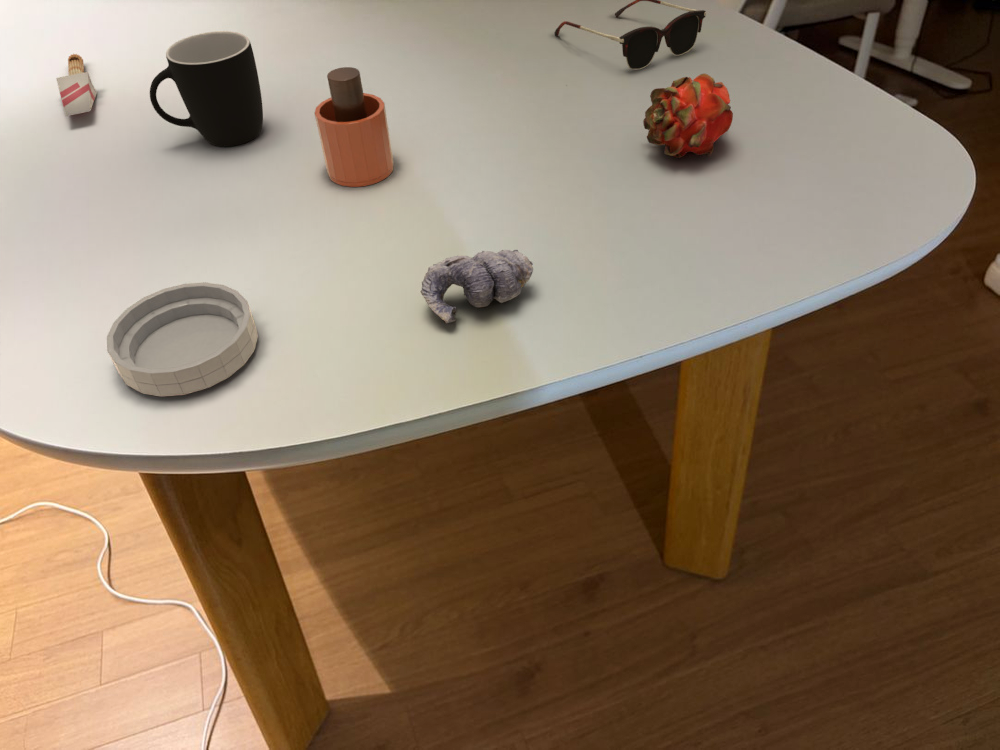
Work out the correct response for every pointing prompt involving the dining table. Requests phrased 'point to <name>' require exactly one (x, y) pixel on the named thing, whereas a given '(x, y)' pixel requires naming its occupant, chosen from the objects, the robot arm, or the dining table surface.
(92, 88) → the churro
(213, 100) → the mug
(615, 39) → the sunglasses
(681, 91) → the dragon fruit
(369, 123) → the cup
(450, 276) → the seashell
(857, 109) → the dining table surface
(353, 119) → the muddler
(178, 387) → the dish
